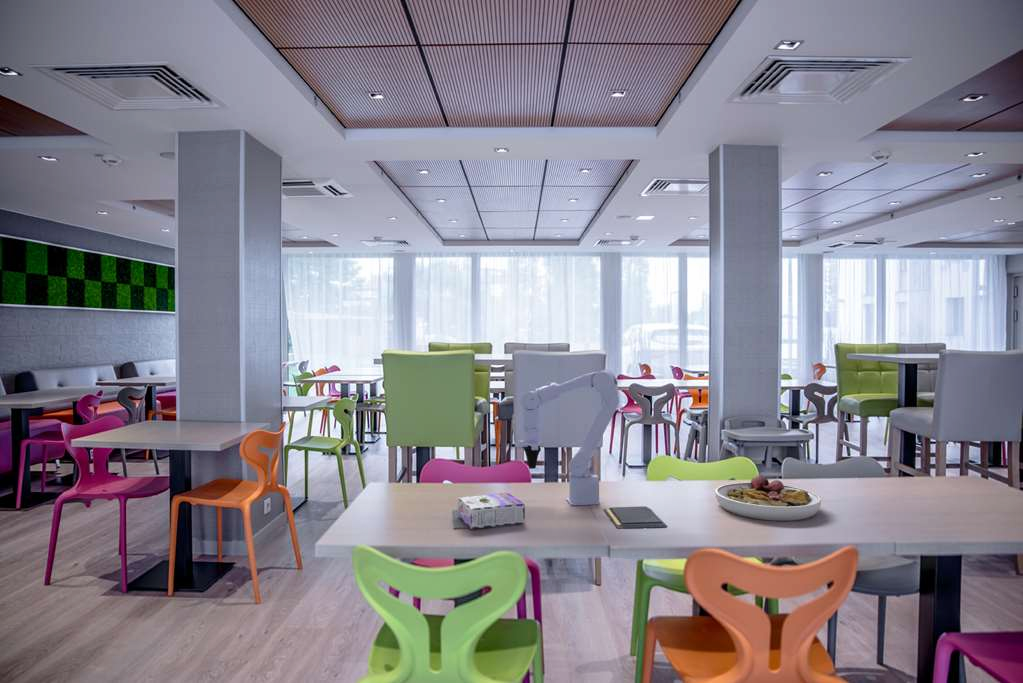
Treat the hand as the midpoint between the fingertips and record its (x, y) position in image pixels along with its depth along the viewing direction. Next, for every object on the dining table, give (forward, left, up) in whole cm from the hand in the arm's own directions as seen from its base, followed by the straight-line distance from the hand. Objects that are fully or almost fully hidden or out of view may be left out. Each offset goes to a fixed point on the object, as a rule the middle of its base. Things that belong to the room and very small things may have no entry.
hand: (532, 468), depth 200 cm
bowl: (-70, +22, -11) cm, 74 cm away
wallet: (-27, +25, -11) cm, 38 cm away
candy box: (+8, +20, -7) cm, 22 cm away
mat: (+19, +19, -10) cm, 28 cm away
